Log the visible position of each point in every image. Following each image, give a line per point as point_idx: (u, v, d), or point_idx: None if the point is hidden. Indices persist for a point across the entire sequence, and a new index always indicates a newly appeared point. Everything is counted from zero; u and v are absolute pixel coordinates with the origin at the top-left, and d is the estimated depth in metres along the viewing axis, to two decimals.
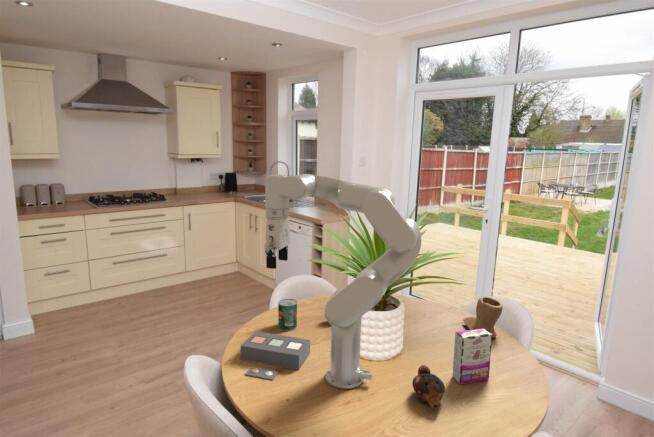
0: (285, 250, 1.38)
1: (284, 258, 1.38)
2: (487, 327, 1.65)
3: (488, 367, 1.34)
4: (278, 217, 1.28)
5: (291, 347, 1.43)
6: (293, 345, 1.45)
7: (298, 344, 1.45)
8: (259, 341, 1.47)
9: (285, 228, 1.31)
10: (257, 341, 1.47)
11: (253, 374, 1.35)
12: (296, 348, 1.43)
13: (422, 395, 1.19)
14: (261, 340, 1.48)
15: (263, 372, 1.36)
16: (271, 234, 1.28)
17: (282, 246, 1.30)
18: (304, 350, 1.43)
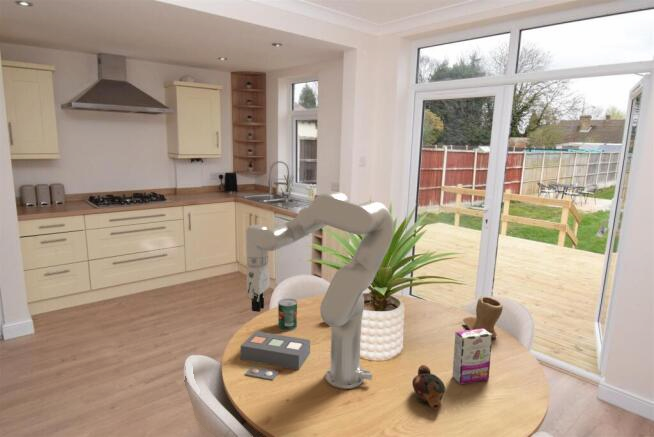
0: (261, 299, 1.46)
1: (261, 306, 1.47)
2: (487, 327, 1.65)
3: (488, 367, 1.34)
4: (258, 265, 1.39)
5: (291, 347, 1.43)
6: (293, 345, 1.45)
7: (298, 344, 1.45)
8: (259, 341, 1.47)
9: (264, 274, 1.43)
10: (257, 341, 1.47)
11: (253, 374, 1.35)
12: (296, 348, 1.43)
13: (422, 395, 1.19)
14: (261, 340, 1.48)
15: (263, 372, 1.36)
16: (251, 281, 1.39)
17: (262, 291, 1.42)
18: (304, 350, 1.43)
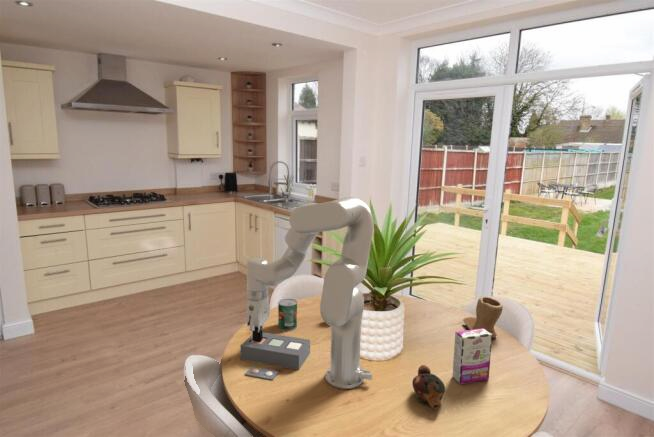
0: None
1: None
2: (487, 327, 1.65)
3: (488, 367, 1.34)
4: (258, 298, 1.42)
5: (291, 347, 1.43)
6: (293, 345, 1.45)
7: (298, 344, 1.45)
8: (259, 342, 1.47)
9: (264, 306, 1.45)
10: (257, 342, 1.47)
11: (253, 374, 1.35)
12: (296, 348, 1.43)
13: (422, 395, 1.19)
14: (261, 341, 1.48)
15: (263, 372, 1.36)
16: (251, 314, 1.42)
17: (261, 323, 1.44)
18: (304, 350, 1.43)
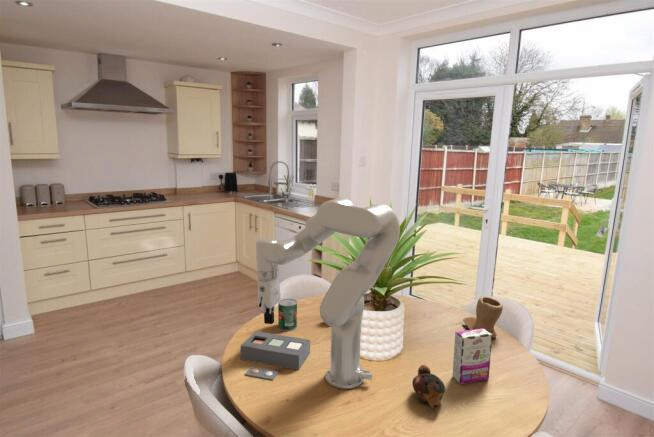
0: None
1: None
2: (487, 327, 1.65)
3: (488, 367, 1.34)
4: (268, 279, 1.39)
5: (291, 347, 1.43)
6: (293, 345, 1.45)
7: (298, 344, 1.45)
8: None
9: (275, 287, 1.43)
10: None
11: (253, 374, 1.35)
12: (296, 348, 1.43)
13: (422, 395, 1.19)
14: (261, 343, 1.48)
15: (263, 372, 1.36)
16: (262, 295, 1.39)
17: (273, 304, 1.41)
18: (304, 350, 1.43)
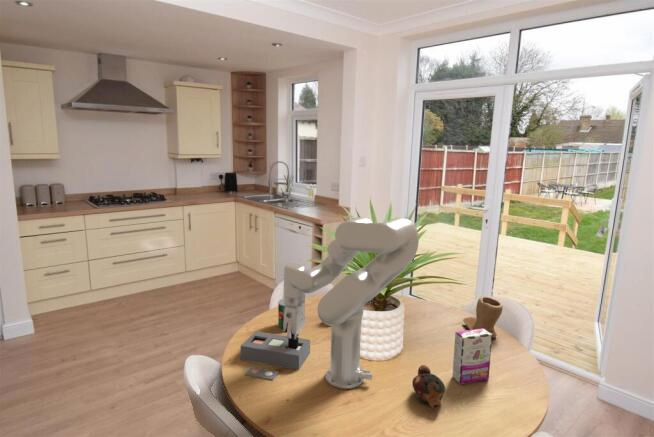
0: None
1: None
2: (487, 327, 1.65)
3: (488, 367, 1.34)
4: (295, 305, 1.38)
5: None
6: None
7: (298, 347, 1.46)
8: None
9: (301, 313, 1.42)
10: None
11: (253, 374, 1.35)
12: None
13: (422, 395, 1.19)
14: (261, 343, 1.48)
15: (263, 372, 1.36)
16: (289, 321, 1.38)
17: (298, 331, 1.40)
18: (304, 350, 1.43)
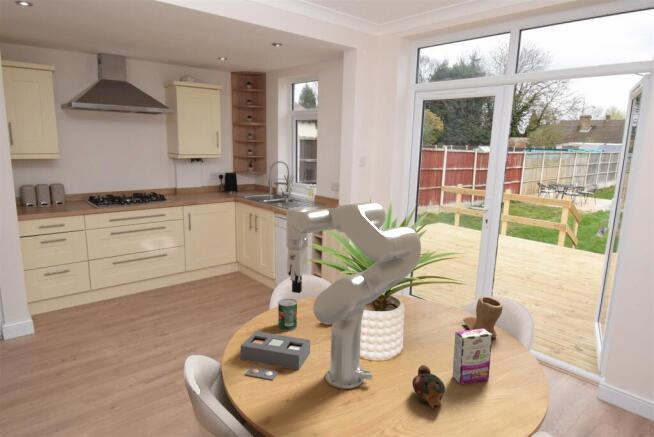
0: None
1: None
2: (487, 327, 1.65)
3: (488, 367, 1.34)
4: (298, 247, 1.41)
5: None
6: (293, 348, 1.45)
7: (298, 347, 1.46)
8: None
9: (304, 256, 1.45)
10: None
11: (253, 374, 1.35)
12: None
13: (422, 395, 1.19)
14: (261, 343, 1.48)
15: (263, 372, 1.36)
16: (292, 263, 1.41)
17: (302, 273, 1.43)
18: (304, 350, 1.43)
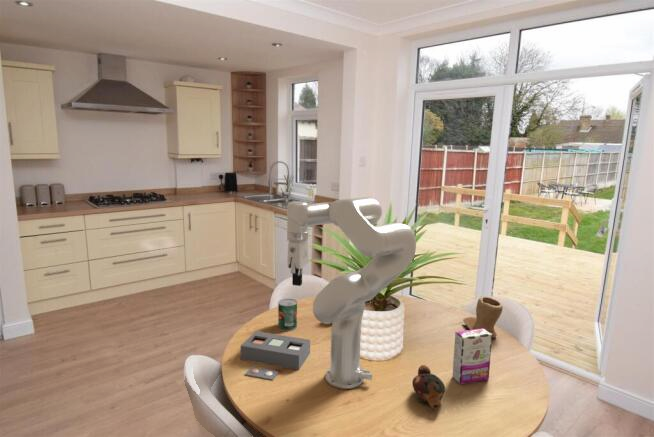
0: None
1: None
2: (487, 327, 1.65)
3: (488, 367, 1.34)
4: (299, 240, 1.42)
5: None
6: (293, 348, 1.45)
7: (298, 347, 1.46)
8: None
9: (304, 249, 1.46)
10: None
11: (253, 374, 1.35)
12: None
13: (422, 395, 1.19)
14: (261, 343, 1.48)
15: (263, 372, 1.36)
16: (292, 255, 1.42)
17: (302, 266, 1.45)
18: (304, 350, 1.43)
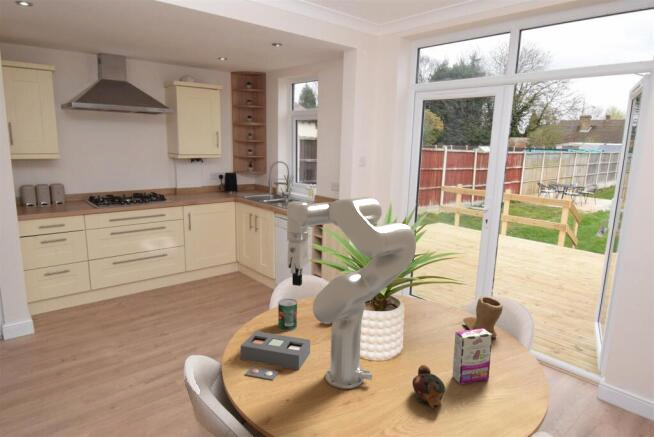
0: None
1: None
2: (487, 327, 1.65)
3: (488, 367, 1.34)
4: (299, 240, 1.42)
5: None
6: (293, 348, 1.45)
7: (298, 347, 1.46)
8: None
9: (304, 249, 1.46)
10: None
11: (253, 374, 1.35)
12: None
13: (422, 395, 1.19)
14: (261, 343, 1.48)
15: (263, 372, 1.36)
16: (292, 255, 1.42)
17: (302, 266, 1.45)
18: (304, 350, 1.43)
